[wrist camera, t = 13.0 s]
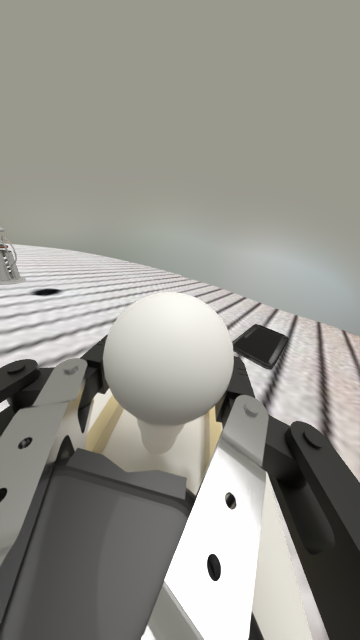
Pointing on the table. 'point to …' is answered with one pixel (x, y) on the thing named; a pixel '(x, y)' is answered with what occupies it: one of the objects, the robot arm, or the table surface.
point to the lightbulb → (167, 364)
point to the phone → (260, 345)
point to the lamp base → (191, 462)
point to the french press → (3, 276)
